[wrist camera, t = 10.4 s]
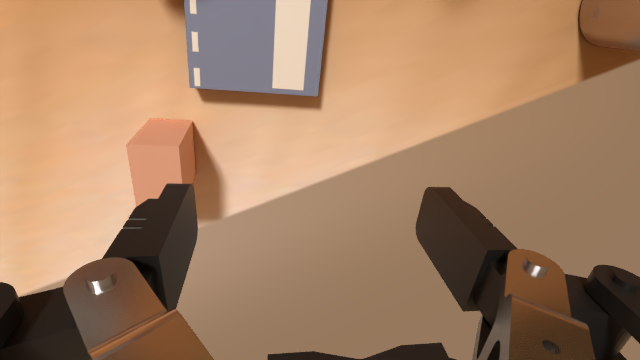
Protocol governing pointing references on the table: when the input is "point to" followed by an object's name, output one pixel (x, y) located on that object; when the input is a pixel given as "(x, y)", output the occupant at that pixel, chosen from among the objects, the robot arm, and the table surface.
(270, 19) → the ticket slab
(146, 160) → the stub terracotta
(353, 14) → the table surface
